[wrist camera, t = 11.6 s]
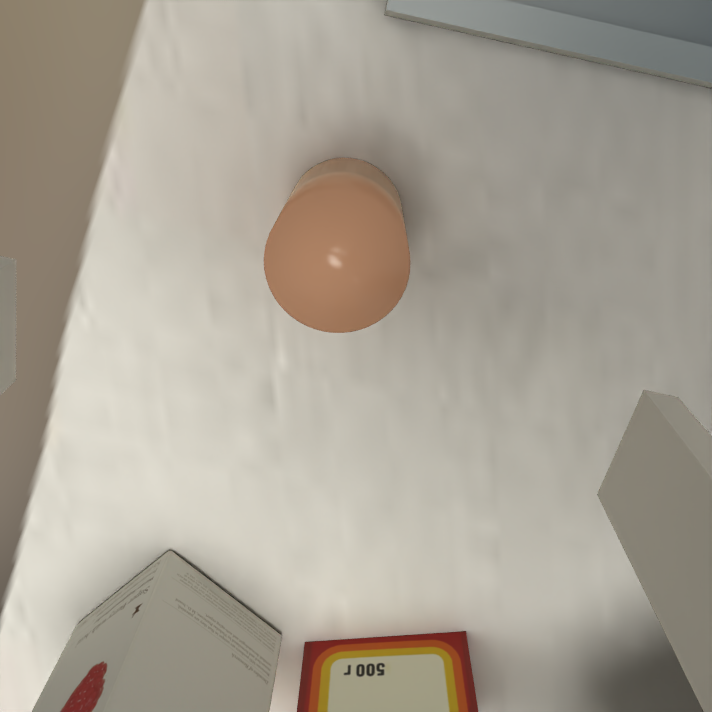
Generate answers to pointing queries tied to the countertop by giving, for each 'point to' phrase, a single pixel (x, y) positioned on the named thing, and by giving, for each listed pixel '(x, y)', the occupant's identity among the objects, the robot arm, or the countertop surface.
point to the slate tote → (587, 30)
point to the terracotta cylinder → (339, 248)
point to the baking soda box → (388, 675)
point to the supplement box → (166, 650)
